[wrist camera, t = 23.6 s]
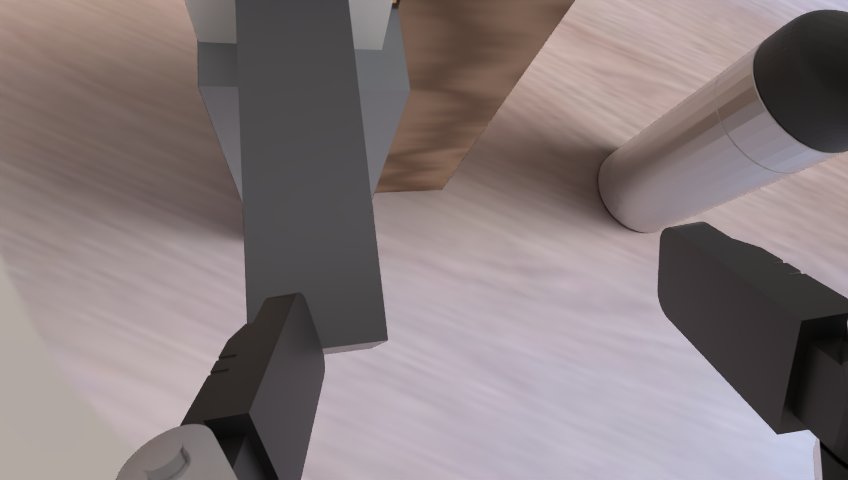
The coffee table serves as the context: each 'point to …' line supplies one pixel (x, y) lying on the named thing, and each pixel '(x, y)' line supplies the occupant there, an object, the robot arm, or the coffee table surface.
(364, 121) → the grey rectangular block
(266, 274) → the action camera
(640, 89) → the coffee table surface
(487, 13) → the walnut post
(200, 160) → the coffee table surface
